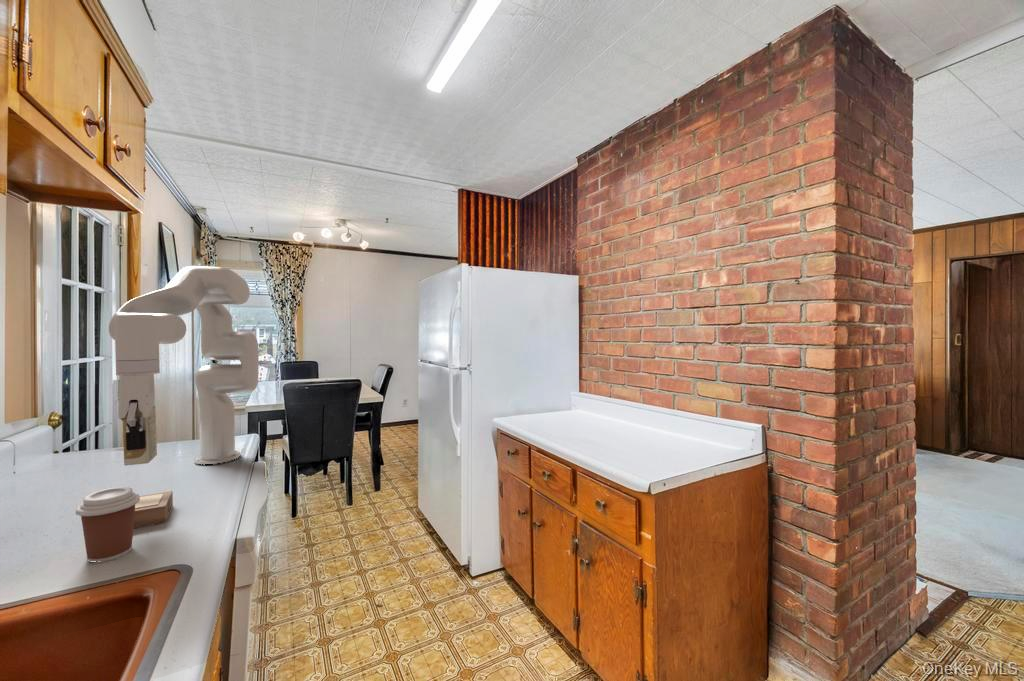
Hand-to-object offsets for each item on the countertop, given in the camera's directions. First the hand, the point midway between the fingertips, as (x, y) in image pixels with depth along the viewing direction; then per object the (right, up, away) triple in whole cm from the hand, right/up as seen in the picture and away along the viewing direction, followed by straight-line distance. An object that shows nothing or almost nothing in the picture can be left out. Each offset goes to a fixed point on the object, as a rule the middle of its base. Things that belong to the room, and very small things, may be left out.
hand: (139, 444), depth 97 cm
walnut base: (0, -17, +1) cm, 17 cm away
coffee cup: (+6, -18, -14) cm, 24 cm away
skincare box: (0, -4, 0) cm, 4 cm away
